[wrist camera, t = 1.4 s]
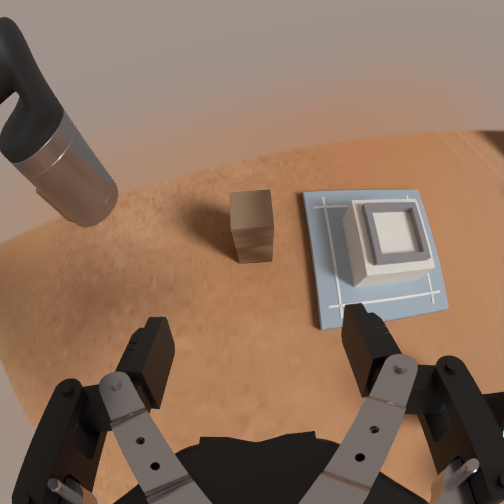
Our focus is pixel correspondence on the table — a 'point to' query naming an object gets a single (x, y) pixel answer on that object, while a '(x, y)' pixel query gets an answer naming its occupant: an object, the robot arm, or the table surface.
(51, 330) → the table surface
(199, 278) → the table surface
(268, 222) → the walnut post
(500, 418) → the drinking cup
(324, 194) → the plan board
